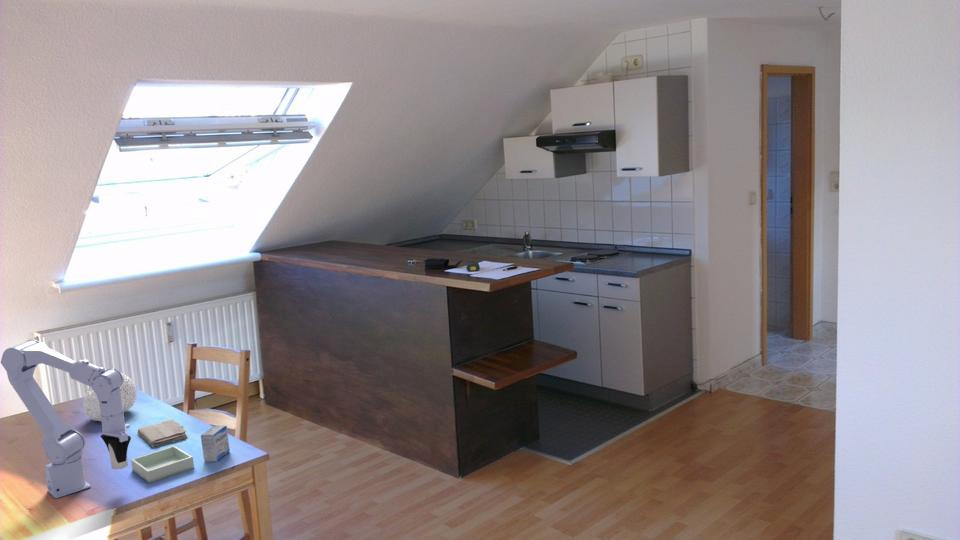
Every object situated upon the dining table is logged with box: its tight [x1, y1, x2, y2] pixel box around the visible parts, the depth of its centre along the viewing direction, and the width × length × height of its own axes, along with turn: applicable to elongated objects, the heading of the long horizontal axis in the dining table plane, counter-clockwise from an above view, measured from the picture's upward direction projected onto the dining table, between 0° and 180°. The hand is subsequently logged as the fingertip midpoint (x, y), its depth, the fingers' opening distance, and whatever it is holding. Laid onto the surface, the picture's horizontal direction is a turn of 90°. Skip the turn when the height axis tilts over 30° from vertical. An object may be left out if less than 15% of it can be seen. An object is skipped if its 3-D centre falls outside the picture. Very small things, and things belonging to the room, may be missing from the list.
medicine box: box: [200, 424, 231, 463], centre depth 242 cm, size 8×4×9 cm, turn 168°
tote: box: [130, 445, 195, 484], centre depth 236 cm, size 13×13×4 cm
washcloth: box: [137, 418, 188, 448], centre depth 263 cm, size 12×18×3 cm, turn 39°
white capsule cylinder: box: [108, 444, 129, 470], centre depth 223 cm, size 4×4×7 cm
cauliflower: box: [82, 372, 137, 422], centre depth 285 cm, size 20×18×16 cm
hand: (118, 459), depth 223 cm, fingers closed on white capsule cylinder, 4 cm apart
